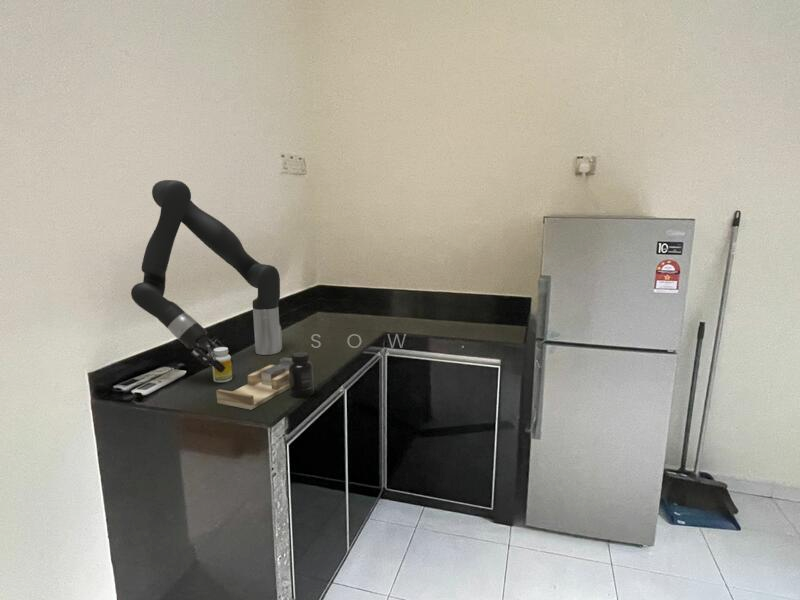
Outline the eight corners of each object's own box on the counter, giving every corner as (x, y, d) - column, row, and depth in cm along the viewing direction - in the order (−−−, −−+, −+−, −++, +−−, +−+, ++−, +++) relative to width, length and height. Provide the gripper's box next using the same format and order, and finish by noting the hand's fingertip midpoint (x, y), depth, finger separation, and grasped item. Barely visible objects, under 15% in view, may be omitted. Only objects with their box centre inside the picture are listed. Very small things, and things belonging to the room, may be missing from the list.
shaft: (284, 371, 156) (283, 357, 155) (296, 373, 154) (296, 359, 153) (260, 383, 145) (259, 368, 144) (273, 386, 143) (272, 370, 142)
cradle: (269, 376, 155) (269, 364, 154) (300, 381, 150) (300, 368, 149) (217, 403, 134) (216, 388, 133) (251, 409, 129) (250, 395, 129)
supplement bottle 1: (210, 379, 152) (207, 349, 150) (227, 375, 156) (224, 345, 154) (218, 384, 148) (216, 352, 146) (235, 379, 152) (233, 348, 150)
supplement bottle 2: (315, 389, 144) (313, 350, 142) (312, 397, 137) (310, 357, 135) (292, 389, 144) (290, 351, 142) (288, 398, 137) (286, 358, 135)
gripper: (183, 327, 142) (225, 366, 144) (205, 316, 156) (243, 352, 158) (167, 344, 143) (210, 383, 145) (191, 332, 158) (229, 367, 159)
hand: (227, 367), depth 151 cm, fingers closed on supplement bottle 1, 5 cm apart
